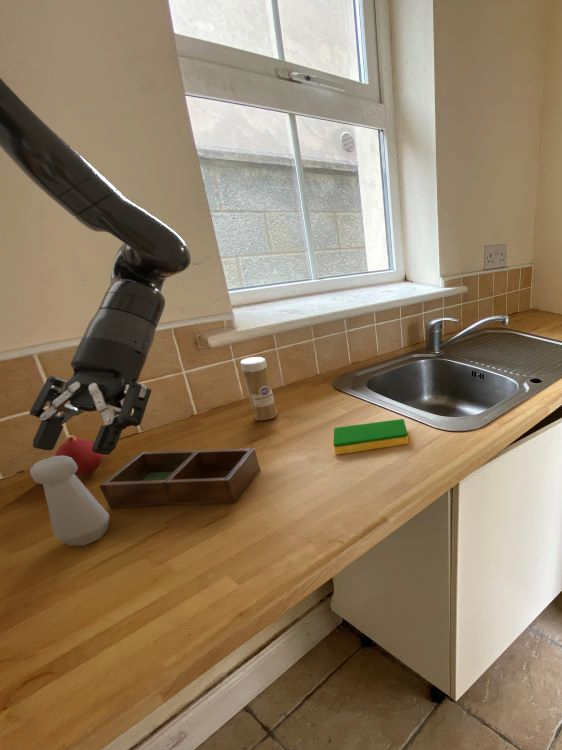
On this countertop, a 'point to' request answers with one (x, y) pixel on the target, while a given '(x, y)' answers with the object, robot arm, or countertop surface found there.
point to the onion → (81, 455)
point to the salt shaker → (70, 502)
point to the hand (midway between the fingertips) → (71, 451)
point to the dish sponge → (370, 436)
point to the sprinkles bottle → (259, 388)
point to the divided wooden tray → (181, 478)
